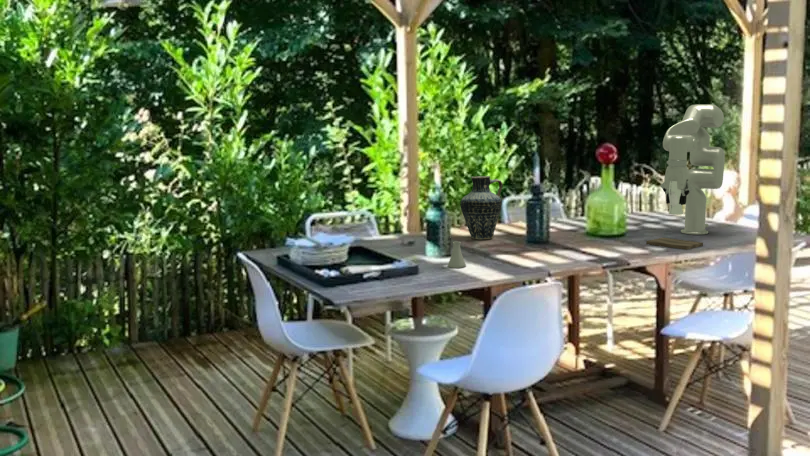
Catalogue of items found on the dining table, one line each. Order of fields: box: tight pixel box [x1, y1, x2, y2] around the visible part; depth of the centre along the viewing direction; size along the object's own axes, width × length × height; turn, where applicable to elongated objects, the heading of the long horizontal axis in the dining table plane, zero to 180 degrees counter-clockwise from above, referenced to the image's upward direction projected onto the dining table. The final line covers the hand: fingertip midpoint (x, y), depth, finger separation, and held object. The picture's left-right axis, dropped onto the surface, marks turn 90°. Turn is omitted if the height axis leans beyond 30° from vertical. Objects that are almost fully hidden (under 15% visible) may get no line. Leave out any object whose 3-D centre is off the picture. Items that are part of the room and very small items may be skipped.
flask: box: [447, 241, 467, 269], centre depth 326 cm, size 7×7×10 cm
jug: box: [459, 175, 504, 240], centre depth 392 cm, size 21×19×30 cm
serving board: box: [645, 237, 704, 251], centre depth 371 cm, size 14×20×2 cm
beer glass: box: [668, 181, 685, 216], centre depth 367 cm, size 7×7×15 cm
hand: (676, 203), depth 368 cm, fingers closed on beer glass, 6 cm apart
